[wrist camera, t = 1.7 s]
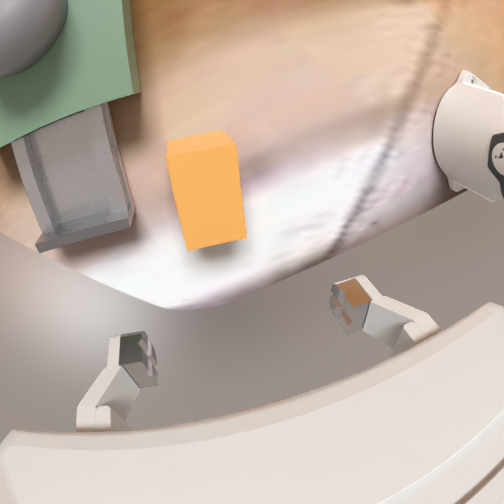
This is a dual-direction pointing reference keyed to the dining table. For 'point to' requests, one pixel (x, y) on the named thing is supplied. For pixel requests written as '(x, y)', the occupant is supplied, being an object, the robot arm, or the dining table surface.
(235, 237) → the orange block
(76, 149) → the open gray drawer
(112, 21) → the green block with dome
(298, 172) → the dining table surface
